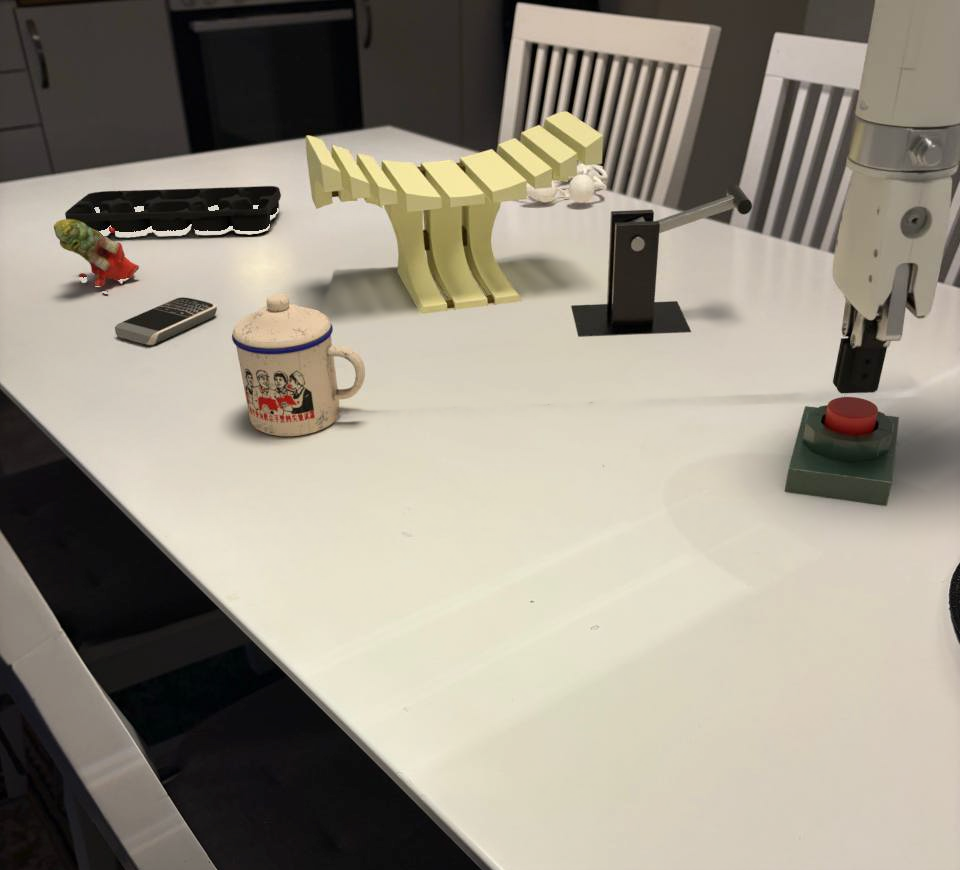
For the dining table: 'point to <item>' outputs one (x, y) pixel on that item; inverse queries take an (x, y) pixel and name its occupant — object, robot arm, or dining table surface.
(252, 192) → the egg carton
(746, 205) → the lever handle
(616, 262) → the lever bracket
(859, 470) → the button block
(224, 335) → the dining table surface
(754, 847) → the dining table surface
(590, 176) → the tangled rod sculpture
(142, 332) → the cell phone
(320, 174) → the slatted curved stool
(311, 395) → the teacup with lid
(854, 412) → the button
